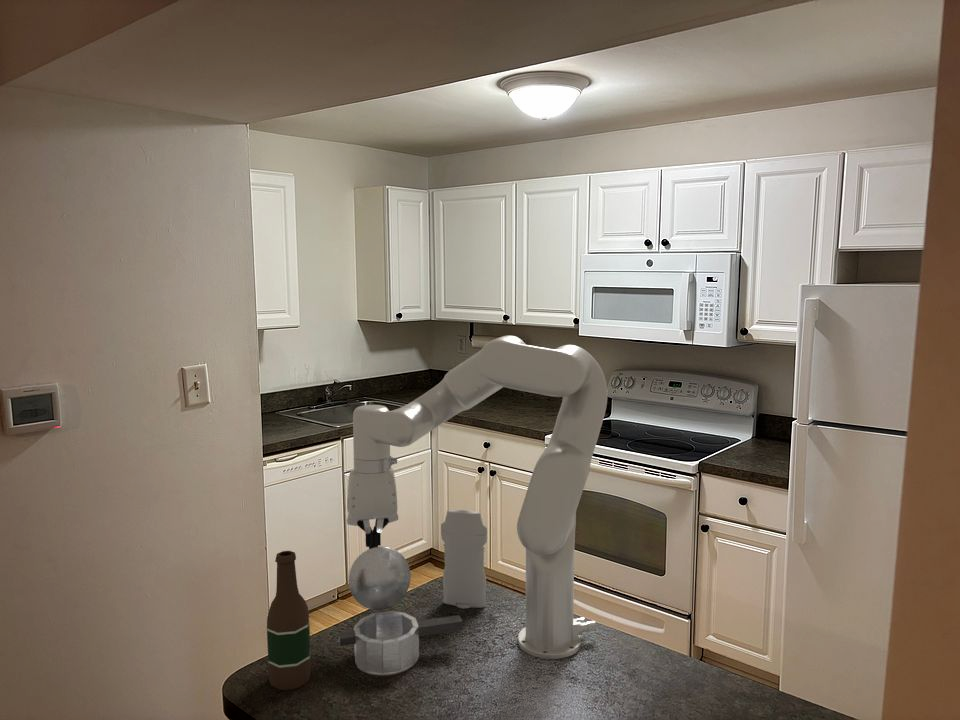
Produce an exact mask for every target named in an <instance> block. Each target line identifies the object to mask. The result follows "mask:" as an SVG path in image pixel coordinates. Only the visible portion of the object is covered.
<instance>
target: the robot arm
mask: <svg viewBox="0 0 960 720" xmlns="http://www.w3.org/2000/svg"><path fill="white" fill-rule="evenodd" d="M503 388H507V389H510V390H515V391H516V390H517V391H520V392H528V393H532V394H536V395H537V394H539V395H542V396H548V397H554V398H555V397H556V398H562V400H561V401H562V402H561V405H560V408H559V411H558V414H557V416H556V421H555V425H554V426H553V427H554V428H553V430H552V433H551V437H550V439H549V442H548V444H547V446H546V448H545V449H544V450H543V452H542V453H541V455H540V456H539V458H538V459H537V461H536V464H535V465H534V468H533V470H532V471H533V472H532V473H531V477H530V480H529V483H528V487H527V490H526V493H525V497H524V499H523V502H522V505H521V509H520V512H519V515H518V518H517V523H516V532H517V533H516V534H517V537H518V539H519V542H520V543H521V545H522V546H523V548H525V627H523V628H522V629H521V630H520V631H519V632H518V635H517V645H518V646H519V647H520V649H521V650H522V651H523V652H525V653H527V654H528V655H529V656H532V657H535V658H538V659H545V660H560V659H564V658H568V657H571V656H573V655H574V654H577V652H578V651H580V648H582V647H581V645H582V637H581V635H582V634H583V633H590V632H595V631H597V623H596V621H595V620H588V621H586V620H585V619H586V618H585V617H577V618H574V606H575V605H574V603H575V602H574V601H575V599H574V596H575V594H574V593H575V592H574V591H575V588H574V587H575V585H574V583H575V579H574V578H575V546H576V545H575V544H576V543H575V540H576V526H577V511H578V510H577V509H578V507H579V504H580V501H581V497H582V494H583V492H584V488H585V485H586V482H587V480H588V477H589V474H590V470H591V469H590V468H591V464H592V458H593V455H594V453H595V452H594V451H595V448H596V445H597V443H598V439H599V436H600V432H601V428H602V427H603V426H602V425H603V421H604V417H605V415H606V410H607V405H608V384H607V381H606V377H605V374H604V371H603V369H602V366H601V365H600V364H599V363H598V361H597V360H596V359H595V358H594V356H592V355H591V354H590V352H588V351H587V350H586V349H584V348H582V347H580V346H577V345H575V344H564V345H561V346H558V347H557V348H555V349H554V348H547V347H541V346H535V345H529V344H526V343H525V342H524V340H522V339H521V338H519V337H518V336H516V335H503V336H500V337H496V338H495V339H492V340H491V341H489V342H487V343H486V344H484V346H483V347H482V348H481V349H480V350H479V351H478V352H476V353H474V354H473V355H471V356H470V357H468V358H467V359H466V360H464V361H462V362H461V363H459V364H458V365H457V366H454V367H453V368H452V369H450V370H448V372H447V373H445V375H444V377H443V379H442V380H441V381H440V382H439V383H438V384H436V385H434V387H432V388H431V389H429V390H427V391H426V392H425V393H423V394H422V395H420V396H418V397H417V398H415V399H414V400H413V401H411V402H409V403H408V404H407V403H406V404H405V405H403V406H401V407H399V408H396V409H393V410H390V409H389V408H388V407H387V406H385V405H381V404H364V405H359V406H358V407H356V408H355V409H354V411H353V414H352V425H353V426H352V433H353V435H352V437H353V439H352V440H353V443H352V444H353V469H351V470H350V471H349V475H348V484H347V498H346V499H347V506H346V508H347V513H348V514H347V518H346V524H347V525H348V526H354V527H358V528H359V529H361V530H362V531H363V532H364V533H365V547H366V548H368V550H369V549H371V548H374V547H381V544H382V543H381V542H382V541H381V539H382V538H381V533H382V532H383V530H384V529H385V528H386V526H387V525H389V524H390V523H391V524H392V523H393V522H397V521H398V520H399V514H398V495H397V493H398V492H397V483H396V477H395V471H394V468H393V467H392V466H394V465H398V458H397V457H393V456H391V446H392V447H398V448H405V447H408V446H411V445H413V444H414V443H416V442H417V441H418V440H419V439H421V438H422V437H424V436H426V435H427V434H429V433H431V432H432V431H434V430H435V429H436V428H438V427H440V425H442V424H444V423H445V422H447V421H448V420H450V419H452V418H453V417H455V416H456V415H458V414H459V413H462V412H465V411H467V410H470V409H472V408H473V407H475V406H476V405H479V403H481V402H483V401H484V400H486V399H487V398H489V397H490V396H492V395H493V394H495V393H496V392H499V390H501V389H503ZM370 520H375V522H374V526H373V527H371V524H370Z"/></svg>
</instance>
